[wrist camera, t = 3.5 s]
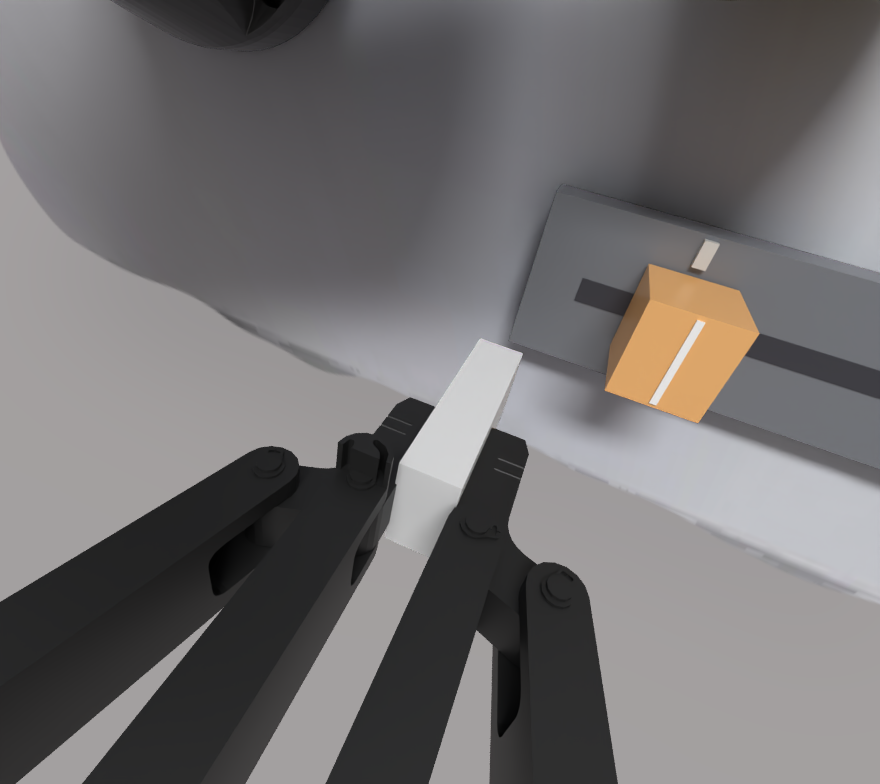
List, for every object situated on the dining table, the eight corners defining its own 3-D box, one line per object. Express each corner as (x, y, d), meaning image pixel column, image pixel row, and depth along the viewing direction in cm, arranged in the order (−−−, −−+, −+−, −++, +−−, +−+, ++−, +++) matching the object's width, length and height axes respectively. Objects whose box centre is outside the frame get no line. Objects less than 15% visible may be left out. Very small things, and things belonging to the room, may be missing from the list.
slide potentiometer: (516, 326, 28) (502, 353, 25) (562, 183, 23) (551, 197, 20) (1016, 495, 23) (1066, 551, 20) (1202, 363, 18) (1300, 412, 16)
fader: (609, 344, 24) (604, 391, 20) (648, 263, 21) (650, 300, 18) (689, 371, 23) (698, 424, 20) (739, 290, 21) (760, 334, 17)
